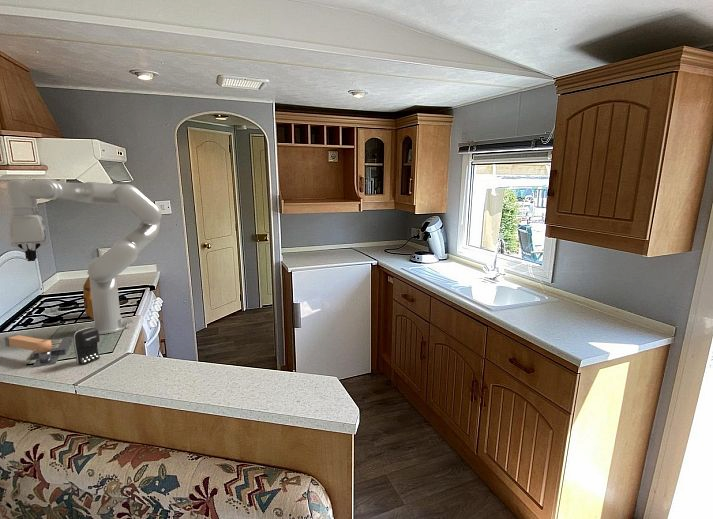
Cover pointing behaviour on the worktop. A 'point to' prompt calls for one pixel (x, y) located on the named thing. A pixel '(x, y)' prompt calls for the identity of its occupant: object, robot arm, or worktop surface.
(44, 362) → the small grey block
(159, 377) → the worktop surface
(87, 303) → the coffee package
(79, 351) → the battery charger
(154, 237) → the robot arm
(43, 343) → the swing bar
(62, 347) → the label panel
